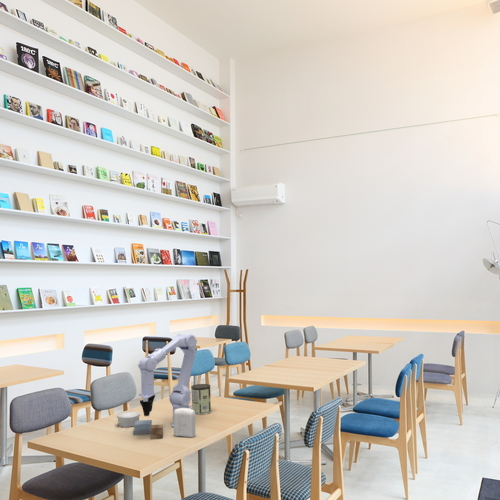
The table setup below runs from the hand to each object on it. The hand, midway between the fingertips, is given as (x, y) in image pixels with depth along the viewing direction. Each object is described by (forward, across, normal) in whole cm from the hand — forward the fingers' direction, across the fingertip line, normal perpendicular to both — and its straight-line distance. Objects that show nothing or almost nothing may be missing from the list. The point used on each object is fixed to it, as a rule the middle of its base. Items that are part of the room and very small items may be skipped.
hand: (147, 413), depth 221 cm
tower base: (+10, -4, -3) cm, 11 cm away
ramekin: (+10, -18, -12) cm, 24 cm away
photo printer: (+10, +4, +17) cm, 20 cm away
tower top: (+8, -5, -3) cm, 9 cm away
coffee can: (+10, -35, +23) cm, 43 cm away
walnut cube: (+10, +4, +5) cm, 12 cm away
